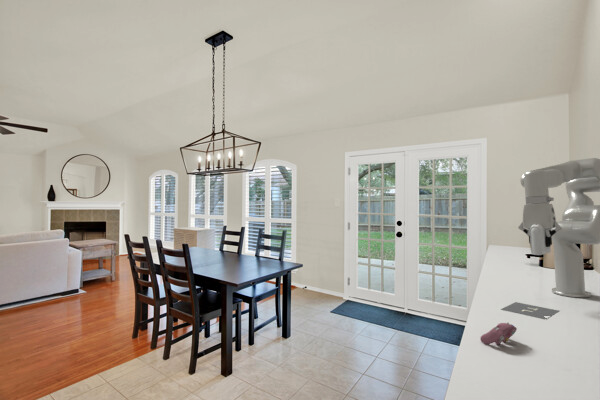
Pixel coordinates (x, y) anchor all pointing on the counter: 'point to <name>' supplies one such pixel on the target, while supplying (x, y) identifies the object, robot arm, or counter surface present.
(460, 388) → the counter surface
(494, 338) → the video game controller
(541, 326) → the counter surface
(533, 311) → the dark gray panel
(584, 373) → the counter surface
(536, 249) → the photo printer
